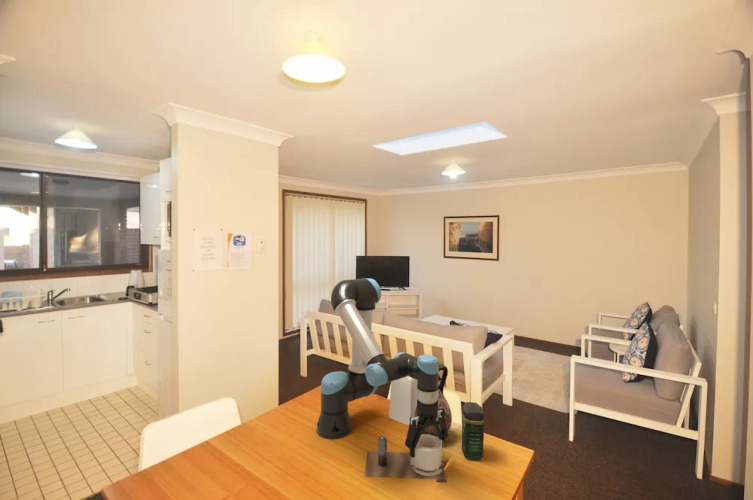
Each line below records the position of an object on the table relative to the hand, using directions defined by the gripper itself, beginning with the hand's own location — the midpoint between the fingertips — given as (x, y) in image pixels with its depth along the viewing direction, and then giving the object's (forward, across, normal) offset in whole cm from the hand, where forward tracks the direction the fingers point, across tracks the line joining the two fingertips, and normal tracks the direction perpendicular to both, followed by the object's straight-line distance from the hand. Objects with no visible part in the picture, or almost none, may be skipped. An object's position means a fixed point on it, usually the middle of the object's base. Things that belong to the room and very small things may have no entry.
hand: (426, 460), depth 124 cm
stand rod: (+3, -14, +8) cm, 16 cm away
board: (+3, -7, +4) cm, 9 cm away
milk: (+3, +13, +34) cm, 37 cm away
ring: (0, 0, 0) cm, 0 cm away
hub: (+3, 0, 0) cm, 3 cm away
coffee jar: (+3, +21, -1) cm, 21 cm away
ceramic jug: (+3, +15, +16) cm, 22 cm away
